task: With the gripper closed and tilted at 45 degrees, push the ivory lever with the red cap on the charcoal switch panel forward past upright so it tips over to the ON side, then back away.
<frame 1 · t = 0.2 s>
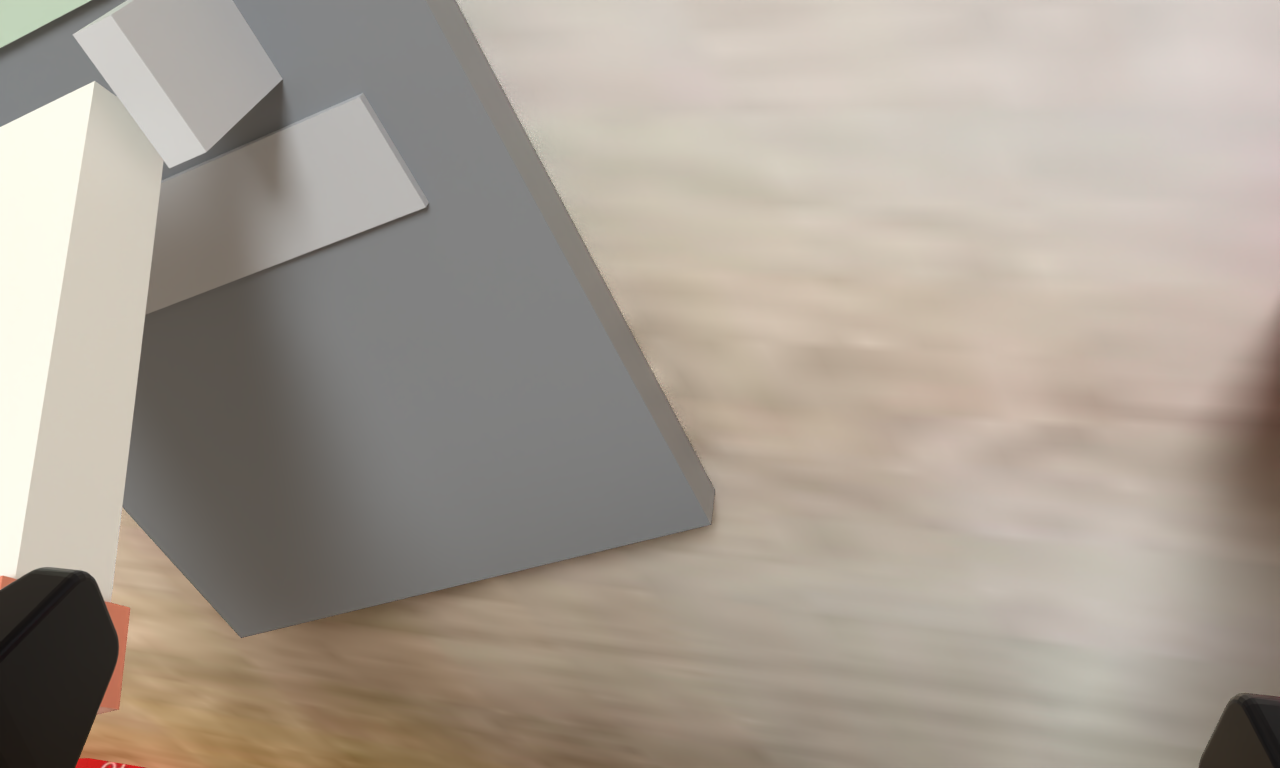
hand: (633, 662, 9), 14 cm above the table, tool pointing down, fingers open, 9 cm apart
switch panel: (125, 69, 22), on the table
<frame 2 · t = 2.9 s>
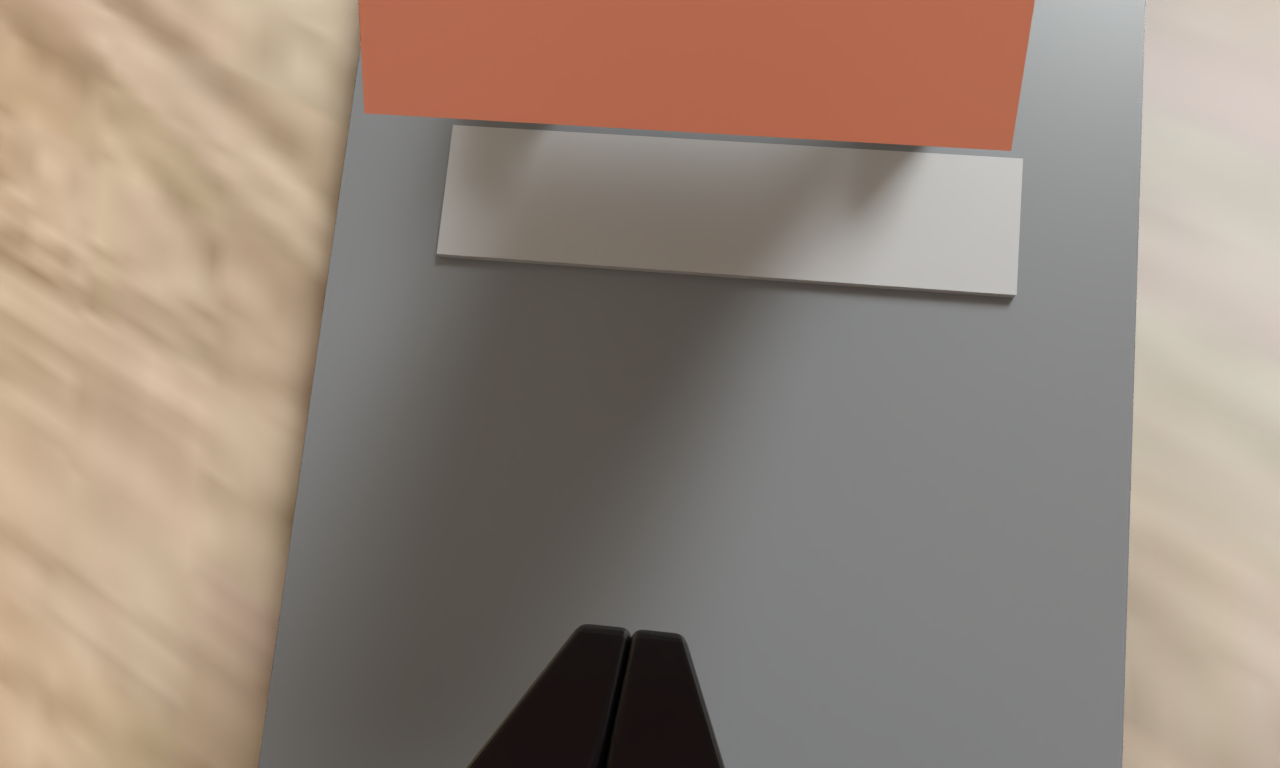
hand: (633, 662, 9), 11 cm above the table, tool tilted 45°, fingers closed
switch panel: (740, 68, 21), on the table
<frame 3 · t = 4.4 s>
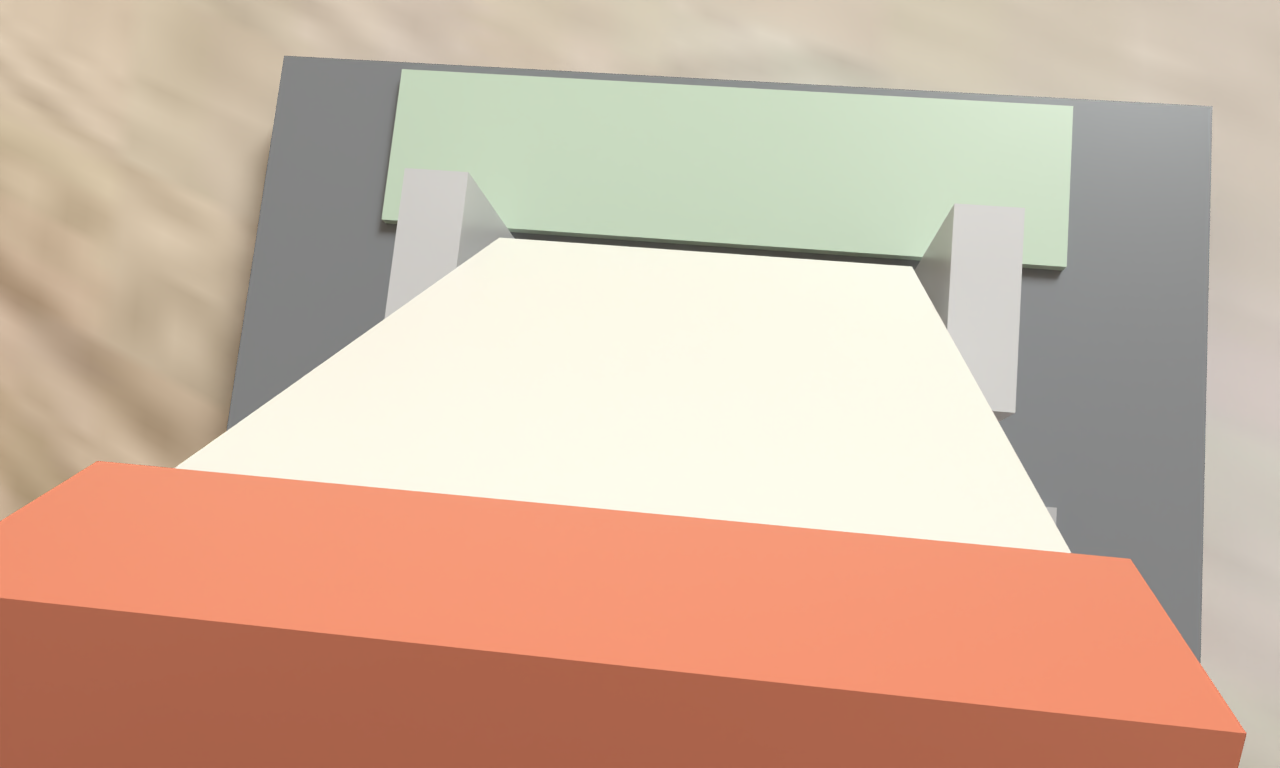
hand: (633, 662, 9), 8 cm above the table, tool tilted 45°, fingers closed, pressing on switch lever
switch lever: (654, 451, 9), point 8 cm above the table, hinge at -26.3°, touching gripper
switch panel: (707, 354, 17), on the table
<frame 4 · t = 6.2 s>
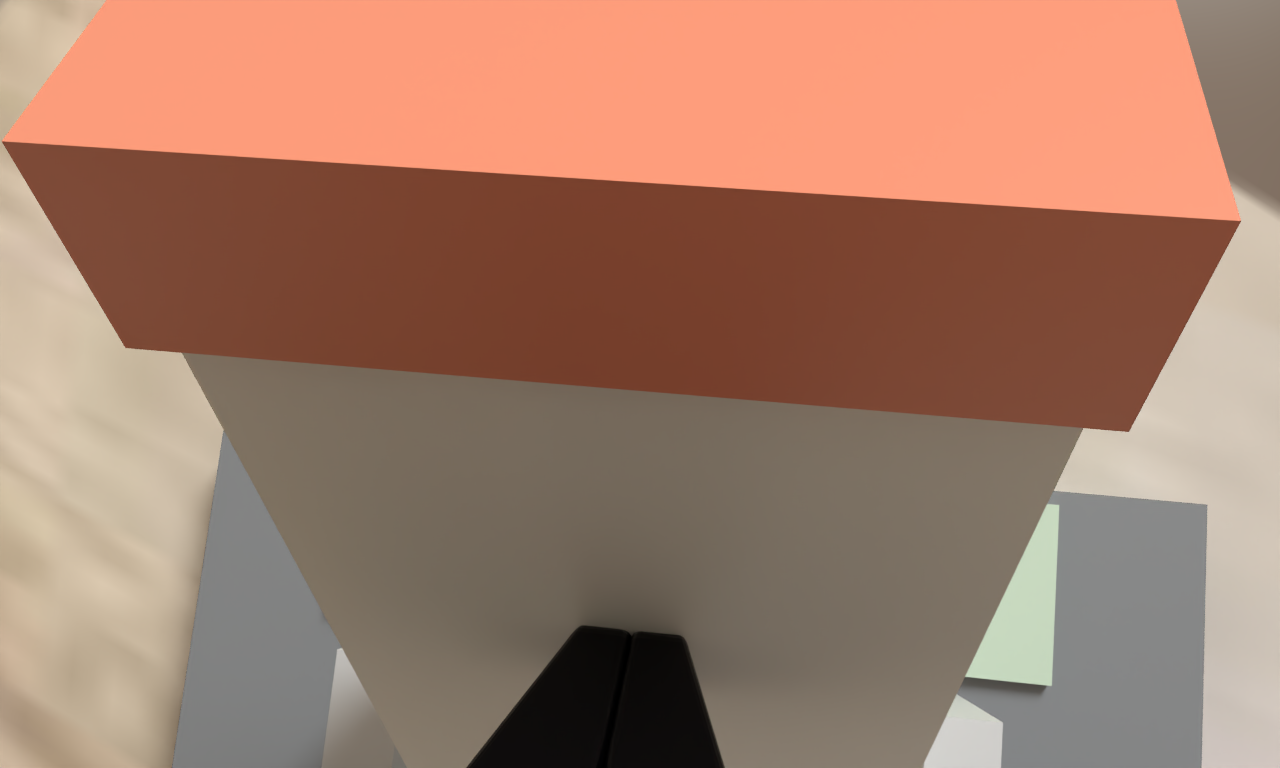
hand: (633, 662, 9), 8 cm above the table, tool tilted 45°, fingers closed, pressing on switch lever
switch lever: (645, 555, 9), point 8 cm above the table, hinge at 29.7°, touching gripper
switch panel: (673, 735, 16), on the table
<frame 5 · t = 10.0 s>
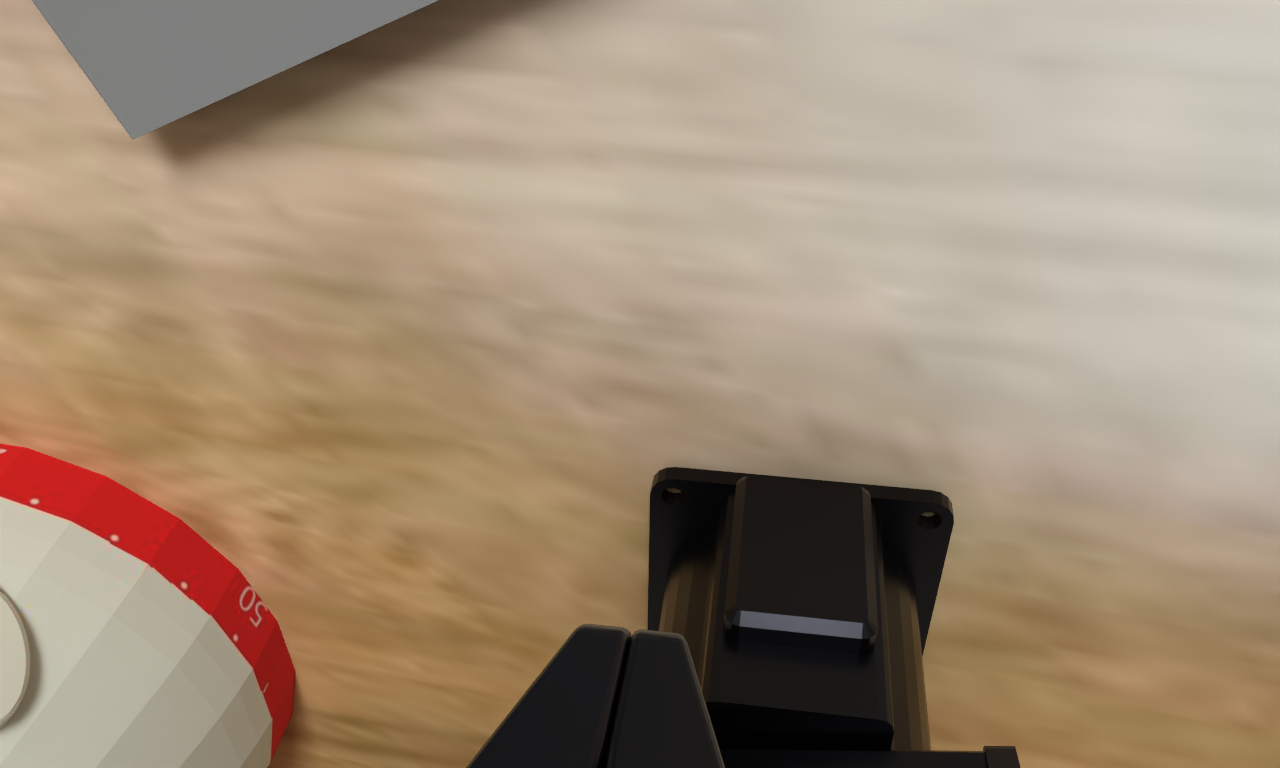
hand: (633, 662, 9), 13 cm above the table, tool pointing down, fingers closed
kitchen timer: (58, 624, 31), on the table
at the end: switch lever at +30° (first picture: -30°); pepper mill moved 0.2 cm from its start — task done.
